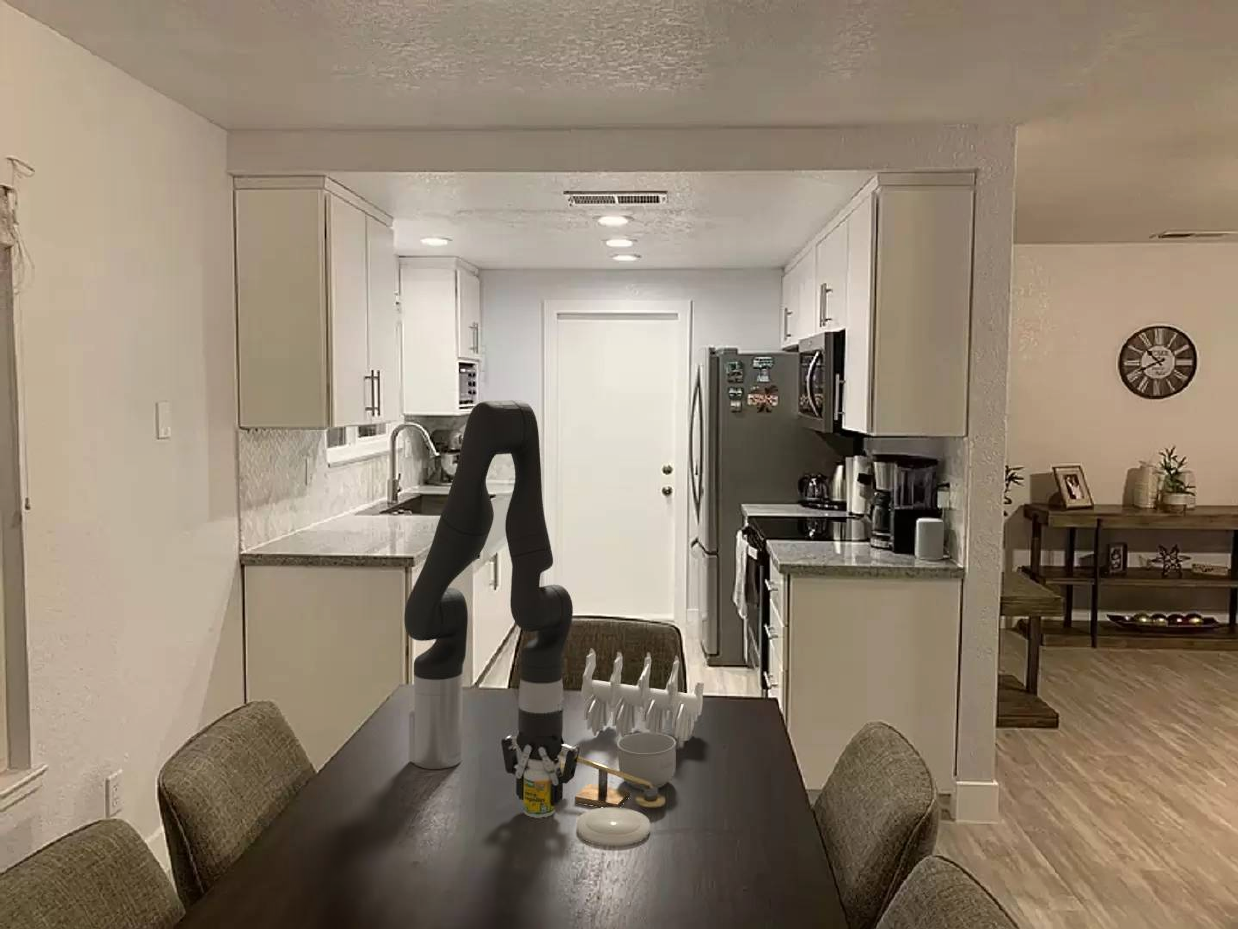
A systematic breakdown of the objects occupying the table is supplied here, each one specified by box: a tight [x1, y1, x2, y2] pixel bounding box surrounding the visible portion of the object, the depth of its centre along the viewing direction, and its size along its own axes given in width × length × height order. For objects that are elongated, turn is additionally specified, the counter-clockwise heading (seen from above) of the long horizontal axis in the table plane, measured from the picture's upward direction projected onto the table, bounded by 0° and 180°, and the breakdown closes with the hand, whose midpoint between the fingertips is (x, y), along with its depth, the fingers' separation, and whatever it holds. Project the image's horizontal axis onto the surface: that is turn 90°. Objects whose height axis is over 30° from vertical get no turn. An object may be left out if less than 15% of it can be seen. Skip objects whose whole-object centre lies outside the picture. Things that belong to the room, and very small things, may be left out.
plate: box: [576, 807, 651, 847], centre depth 164 cm, size 12×12×1 cm
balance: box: [552, 751, 666, 809], centre depth 175 cm, size 23×6×8 cm, turn 69°
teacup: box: [616, 729, 677, 790], centre depth 185 cm, size 14×11×8 cm
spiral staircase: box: [580, 648, 705, 746], centre depth 207 cm, size 18×18×25 cm
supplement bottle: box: [522, 758, 556, 819], centre depth 170 cm, size 5×5×10 cm
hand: (539, 801), depth 170 cm, fingers closed on supplement bottle, 5 cm apart
